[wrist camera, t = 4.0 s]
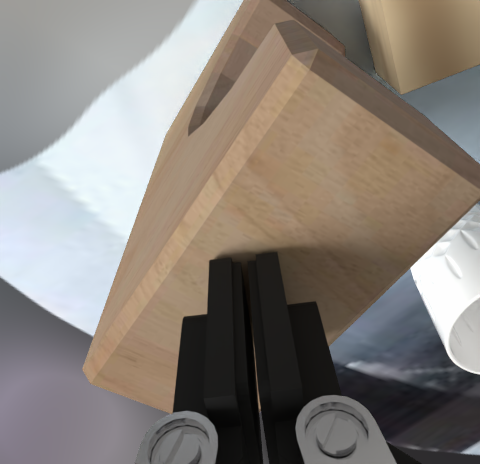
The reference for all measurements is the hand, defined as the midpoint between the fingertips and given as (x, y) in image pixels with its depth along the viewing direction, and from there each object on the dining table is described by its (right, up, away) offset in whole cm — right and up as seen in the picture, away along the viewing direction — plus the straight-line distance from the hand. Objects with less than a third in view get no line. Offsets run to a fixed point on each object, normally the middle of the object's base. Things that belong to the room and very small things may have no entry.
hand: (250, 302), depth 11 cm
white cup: (+15, +2, +23) cm, 28 cm away
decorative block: (0, +11, +17) cm, 20 cm away
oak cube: (+9, +14, +15) cm, 23 cm away
